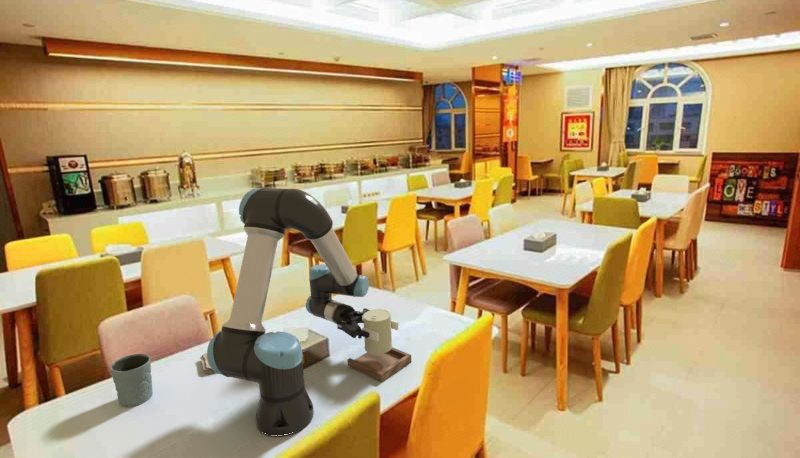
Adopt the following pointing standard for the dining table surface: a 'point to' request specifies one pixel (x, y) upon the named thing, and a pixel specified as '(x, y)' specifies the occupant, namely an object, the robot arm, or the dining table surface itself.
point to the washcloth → (206, 364)
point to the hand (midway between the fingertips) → (388, 331)
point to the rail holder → (380, 363)
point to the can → (378, 330)
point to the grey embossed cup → (132, 379)
